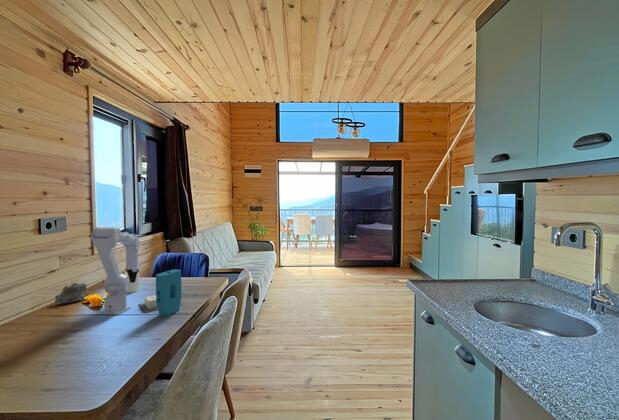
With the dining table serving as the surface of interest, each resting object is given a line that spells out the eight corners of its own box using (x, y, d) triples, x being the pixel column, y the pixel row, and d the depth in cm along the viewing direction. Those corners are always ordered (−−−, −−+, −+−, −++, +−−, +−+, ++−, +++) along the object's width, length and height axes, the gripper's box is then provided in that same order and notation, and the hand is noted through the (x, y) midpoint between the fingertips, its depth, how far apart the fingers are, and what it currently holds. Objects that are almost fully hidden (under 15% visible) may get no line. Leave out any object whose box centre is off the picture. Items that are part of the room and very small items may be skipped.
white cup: (134, 293, 174) (134, 276, 173) (121, 293, 174) (121, 276, 174) (142, 289, 182) (142, 273, 181) (130, 289, 182) (129, 273, 181)
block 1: (155, 302, 157) (159, 306, 151) (144, 304, 154) (148, 309, 148) (155, 295, 157) (159, 298, 151) (144, 297, 154) (148, 301, 148)
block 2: (163, 317, 138) (162, 275, 137) (155, 316, 140) (154, 275, 139) (182, 308, 149) (181, 270, 148) (175, 307, 151) (174, 269, 150)
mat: (166, 308, 150) (166, 307, 150) (144, 313, 144) (144, 312, 144) (159, 300, 161) (159, 300, 161) (138, 305, 154) (138, 304, 154)
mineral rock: (53, 306, 152) (53, 287, 152) (61, 300, 162) (61, 282, 162) (83, 303, 157) (83, 284, 157) (89, 297, 167) (89, 279, 167)
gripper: (143, 259, 158) (143, 283, 159) (137, 255, 169) (138, 278, 170) (128, 260, 154) (128, 286, 154) (123, 256, 165) (123, 280, 165)
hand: (132, 282), depth 162 cm, fingers closed
